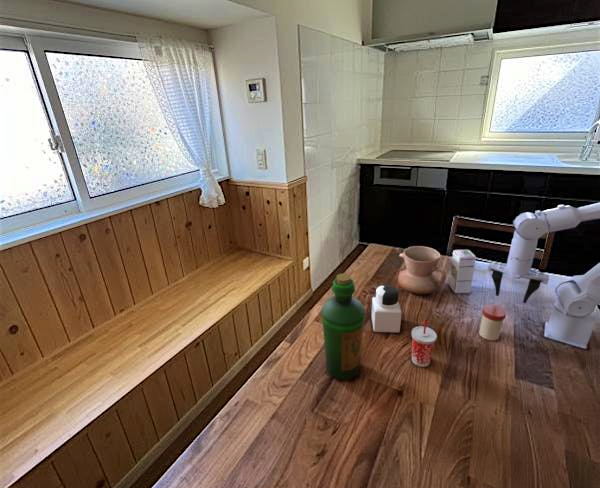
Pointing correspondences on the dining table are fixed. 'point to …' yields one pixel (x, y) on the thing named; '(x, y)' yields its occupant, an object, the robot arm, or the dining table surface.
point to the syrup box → (462, 271)
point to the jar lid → (494, 312)
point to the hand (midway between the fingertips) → (510, 297)
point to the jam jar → (490, 328)
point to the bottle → (343, 329)
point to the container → (386, 310)
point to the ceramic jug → (421, 270)
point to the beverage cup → (422, 344)
